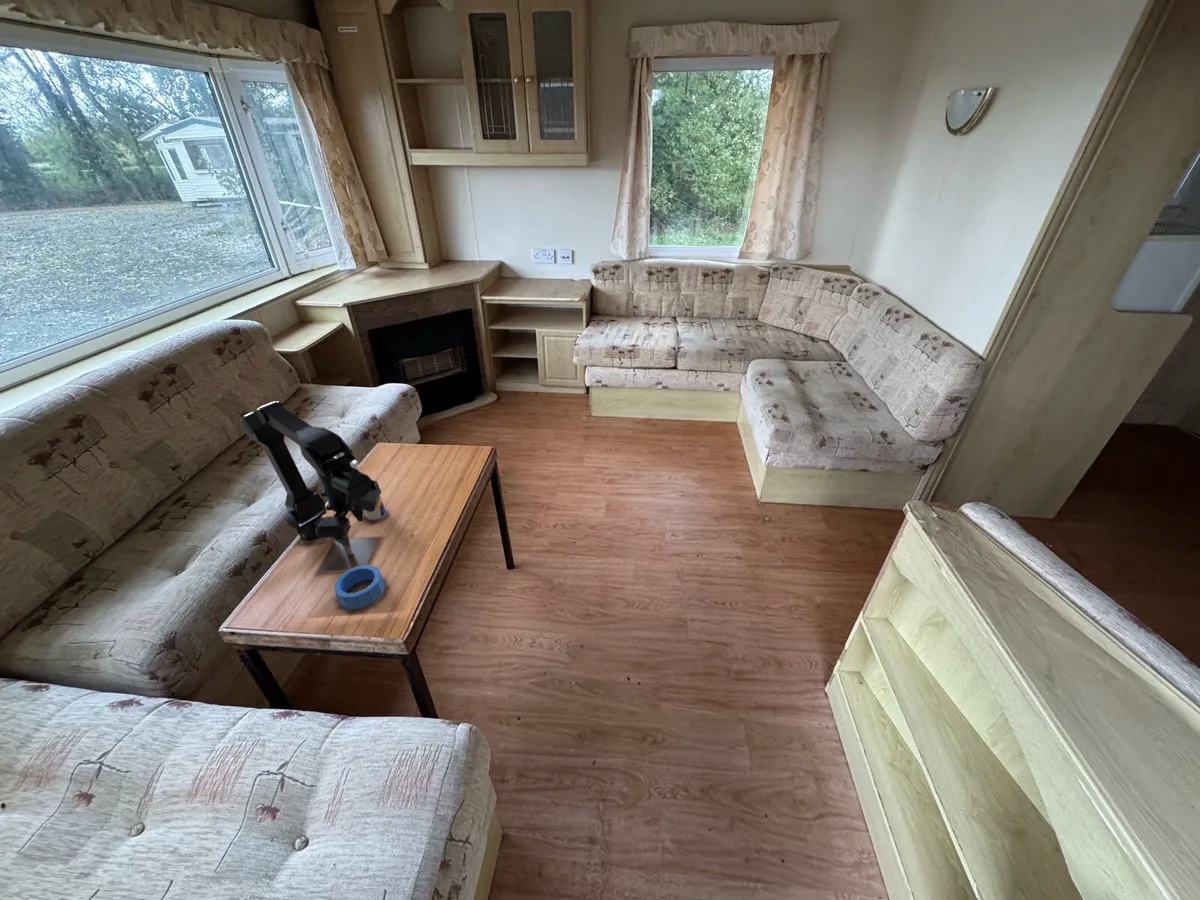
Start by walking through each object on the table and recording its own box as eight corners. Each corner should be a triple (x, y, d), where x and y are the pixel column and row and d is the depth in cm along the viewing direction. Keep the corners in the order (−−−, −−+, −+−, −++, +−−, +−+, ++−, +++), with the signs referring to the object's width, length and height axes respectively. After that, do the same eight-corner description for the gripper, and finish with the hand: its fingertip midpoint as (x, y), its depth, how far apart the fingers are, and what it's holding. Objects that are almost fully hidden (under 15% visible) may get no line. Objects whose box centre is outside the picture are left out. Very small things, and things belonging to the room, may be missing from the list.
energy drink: (379, 523, 140) (368, 491, 134) (363, 521, 141) (351, 489, 135) (390, 512, 145) (379, 480, 138) (374, 510, 146) (363, 478, 139)
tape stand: (318, 573, 124) (311, 559, 121) (336, 541, 134) (330, 527, 131) (365, 570, 125) (360, 556, 122) (380, 539, 135) (375, 525, 132)
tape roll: (333, 612, 113) (327, 598, 111) (349, 579, 122) (343, 566, 120) (377, 609, 114) (372, 595, 111) (390, 577, 123) (385, 563, 120)
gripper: (357, 507, 104) (375, 558, 112) (383, 459, 120) (398, 507, 128) (304, 509, 103) (326, 561, 112) (338, 461, 119) (355, 509, 127)
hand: (354, 533), depth 120 cm, fingers open, 9 cm apart
